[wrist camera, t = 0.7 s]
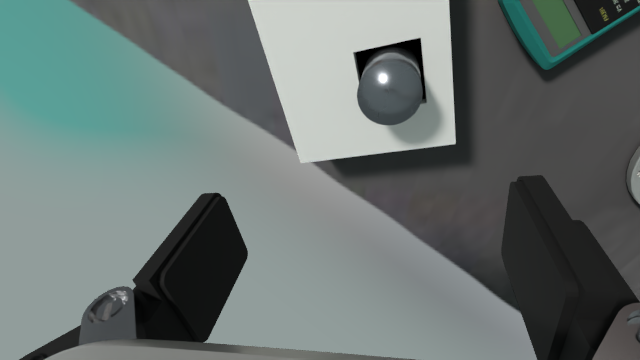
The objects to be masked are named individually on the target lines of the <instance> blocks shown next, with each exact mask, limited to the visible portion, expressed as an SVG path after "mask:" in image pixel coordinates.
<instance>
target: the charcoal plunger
mask: <svg viewBox="0 0 640 360" xmlns="http://www.w3.org/2000/svg"><path fill="white" fill-rule="evenodd" d="M422 95H423V90H422V83H421V77H420V70H419V64H418V61H417V58H416V57H415V55H414V54H413V53H412V51H410V50H409V49H408V48H406V47H404V46H401V45H396V44H390V45H386V46H383V47H380V48H379V49H377V50H376V51H374V52H373V53H372V54H371V56H370V57H369V58H368V60H367V62H366V65H365V68H364V71H363V74H362V77H361V80H360V83H359V86H358V90H357V101H358V105H359V107H360V109H361V111H362V113H363V114H364V115H365V116H366V117H367V118H368V119H369V120H371V121H373V122H375V123H377V124H380V125H397V124H400V123H402V122H405V121H406V120H408V119H409V118H411V117H412V116H413V115H414V114H415V113H416V111H417V110H418V108H419V106H420V104H421V101H422Z"/></svg>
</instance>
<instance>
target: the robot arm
mask: <svg viewBox="0 0 640 360" xmlns="http://www.w3.org/2000/svg"><path fill="white" fill-rule="evenodd" d="M626 182H627V186H628V190H629V192H630V193H631V195H632V196H633V198H634V199H635V200H636V201H637V202H638V203H639V204H640V146H639V147H638V149H637V150H636V152H635V153H634V155H633V157H632V159H631V160H630V163H629V166H628V169H627V177H626ZM247 256H248V251H247V248H246V246H245V243H244V241H243V238H242V236H241V234H240V232H239V229H238V227H237V224H236V222H235V220H234V217H233V215H232V213H231V210H230V208H229V206H228V203H227V201H226V199H225V198H224V197H222V196H221V195H220V194H219V193H205V194H202V195H201V196H200V197H199V198H198V199H197V201H196V202H195V203H194V204H193V205H192V207H191V208H190V209H189V211H188V212H187V213H186V214H185V215H184V217H183V218H182V219H181V220H180V222H179V223H178V224H177V225H176V227H175V228H174V229H173V230H172V232H171V233H170V234H169V235H168V237H167V238H166V239H165V241H163V243H162V244H161V245H160V246H159V248H158V249H157V250H156V251H155V253H154V254H153V255H152V257H151V258H150V259H149V260H148V261H147V263H146V264H145V265H144V266H143V268H142V269H141V270H140V271H139V273H138V274H137V275H136V276H135V278H134V279H133V282H134V283H135V284H136V287H135V288H134V289H133V290H132V289H131V288H129V287H124V286H123V287H116V288H114V289H111V290H109V291H107V292H105V293H103V294H102V295H100V296H99V297H98V298H97V299H95V300H94V301H93V302H92V303H91V304H90V305H89V306H88V307H87V309H86V310H85V312H84V314H83V317H82V321H81V325H80V326H78V327H77V328H75V329H73V330H71V331H69V332H68V333H66V334H64V335H62V336H60V337H58V338H57V339H55V340H53V341H51V342H49V343H48V344H46V345H44V346H42V347H40V348H38V349H37V350H35V351H33V352H31V353H29V354H28V355H26V356H24V357H23V358H21V359H20V360H414V359H402V358H390V357H378V356H366V355H355V354H342V353H330V352H317V351H305V350H293V349H279V348H267V347H254V346H240V345H227V344H213V343H203V342H205V341H206V340H207V339H208V337H209V336H210V334H211V331H212V329H213V327H214V325H215V323H216V321H217V319H218V317H219V315H220V313H221V311H222V309H223V307H224V305H225V303H226V301H227V299H228V297H229V295H230V292H231V290H232V288H233V286H234V284H235V282H236V280H237V278H238V276H239V274H240V272H241V270H242V268H243V266H244V264H245V262H246V259H247ZM502 259H503V262H504V265H505V268H506V271H507V274H508V276H509V279H510V282H511V285H512V288H513V291H514V294H515V297H516V299H517V302H518V305H519V308H520V311H521V314H522V317H523V320H524V322H525V325H526V328H527V331H528V334H529V337H530V340H531V342H532V345H533V348H534V351H535V354H536V357H537V360H640V302H639V300H638V299H637V298H636V296H635V295H634V293H633V292H632V290H631V289H630V287H629V286H628V285H627V283H626V282H625V280H624V279H623V277H622V276H621V275H620V273H619V272H618V270H617V269H616V267H615V266H614V265H613V263H612V262H611V260H610V259H609V257H608V256H607V255H606V253H605V252H604V250H603V249H602V247H601V246H600V245H599V243H598V242H597V240H596V239H595V237H594V236H593V234H592V233H591V232H590V230H589V229H588V227H587V226H586V225H585V224H584V223H583V222H582V221H580V220H572V219H571V218H570V216H569V214H568V213H567V211H566V210H565V208H564V207H563V205H562V204H561V202H560V201H559V199H558V198H557V196H556V195H555V193H554V192H553V190H552V189H551V187H550V186H549V184H548V183H547V181H546V180H545V178H544V177H543V176H541V175H537V176H520V177H518V179H517V182H511V183H510V188H509V195H508V203H507V211H506V218H505V226H504V233H503V241H502Z"/></svg>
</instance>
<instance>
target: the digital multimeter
mask: <svg viewBox="0 0 640 360" xmlns="http://www.w3.org/2000/svg"><path fill="white" fill-rule="evenodd" d="M498 2H499V4H500V6H501V8H502V10H503V13H504V15H505V17H506V19H507V21H508V22H509V24H510V26H511V28H512V30H513V31H514V33H515V35H516V36H517V38H518V40H519V41H520V42H521V44H522V45H523V47H524V48H525V49H526V51H527V52H528V54H529V55H530V56H531V57H532V59H533V60H534V61H535V62H536V63H537V64H538V65H539V66H541V67H542V68H543V69H546V70H548V69H551V68H553V67H554V66H556V65H557V64H559V63H560V62H562V61H563V60H565V59H566V58H568V57H569V56H571V55H572V54H574V53H575V52H577V51H578V50H580V49H581V48H583V47H584V46H586V45H587V44H589V43H590V42H592V41H593V40H595V39H596V38H598V37H599V36H601V35H602V34H604V33H605V32H607V31H608V30H610V29H612V28H613V27H615V26H616V25H618V24H619V23H621V22H623V21H624V20H626V19H627V18H629V17H631V16H632V15H634V14H635V13H637V12H638V11H640V0H498Z"/></svg>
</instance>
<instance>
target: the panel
mask: <svg viewBox="0 0 640 360" xmlns="http://www.w3.org/2000/svg"><path fill="white" fill-rule="evenodd" d="M248 2H249V5H250V8H251V11H252V14H253V17H254V20H255V23H256V26H257V30H258V33H259V36H260V39H261V42H262V45H263V48H264V51H265V54H266V57H267V61H268V64H269V67H270V70H271V73H272V76H273V79H274V82H275V85H276V88H277V92H278V95H279V98H280V101H281V104H282V107H283V110H284V113H285V116H286V119H287V123H288V126H289V129H290V132H291V135H292V138H293V141H294V144H295V147H296V150H297V154H298V157H299V159H300V163H306V162H315V161H323V160H331V159H339V158H347V157H355V156H363V155H371V154H379V153H387V152H396V151H404V150H412V149H420V148H428V147H436V146H444V145H452V144H456V138H455V116H454V95H453V74H452V53H451V32H450V11H449V0H248ZM417 38H421V48H422V59H423V70H424V81H425V92H426V99H422V101H421V104H420V106H419V108H418V110H417V111H416V113H415V114H414V115H413V116H412V117H411V118H409V119H408V120H406V121H405V122H402V123H400V124H397V125H380V124H377V123H375V122H373V121H371V120H369V119H368V118H367V117H366V116H365V115H364V114H363V113H362V111H361V109H360V107H359V105H358V101H357V90H358V86H359V83H360V75H359V70H358V64H357V59H356V54H355V52H358V51H362V50H367V49H371V48H376V47H380V46H385V45H389V44H394V43H398V42H403V41H408V40H412V39H417Z"/></svg>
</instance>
